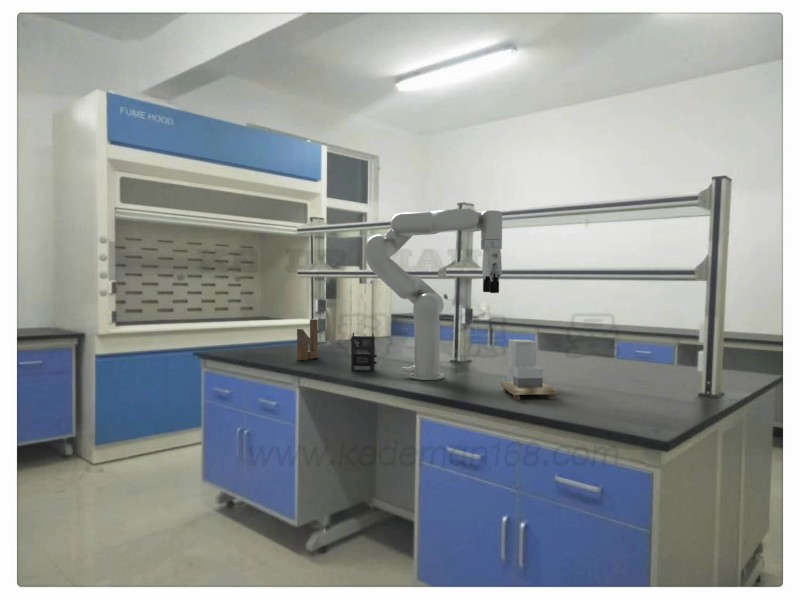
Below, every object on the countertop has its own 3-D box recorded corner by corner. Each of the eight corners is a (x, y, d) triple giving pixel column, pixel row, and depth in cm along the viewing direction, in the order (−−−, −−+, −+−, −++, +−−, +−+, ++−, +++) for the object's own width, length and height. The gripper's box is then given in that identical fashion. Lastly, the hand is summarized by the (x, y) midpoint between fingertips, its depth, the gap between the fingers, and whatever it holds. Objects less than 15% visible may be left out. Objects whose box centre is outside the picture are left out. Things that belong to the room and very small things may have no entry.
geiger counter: (377, 369, 228) (377, 332, 227) (375, 371, 224) (375, 333, 223) (352, 368, 229) (352, 332, 228) (349, 370, 225) (350, 333, 224)
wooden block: (296, 360, 251) (296, 320, 251) (313, 357, 260) (313, 318, 259) (302, 360, 249) (302, 320, 248) (319, 358, 258) (319, 319, 257)
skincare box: (515, 386, 196) (515, 341, 195) (506, 382, 202) (507, 339, 201) (536, 384, 198) (537, 341, 197) (527, 381, 204) (528, 338, 204)
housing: (542, 387, 179) (542, 368, 178) (518, 387, 178) (518, 368, 178) (536, 384, 184) (537, 366, 183) (513, 384, 183) (513, 366, 183)
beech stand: (513, 400, 173) (513, 390, 173) (500, 391, 187) (500, 382, 187) (557, 399, 174) (557, 390, 174) (541, 390, 188) (541, 381, 188)
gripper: (508, 244, 194) (507, 293, 195) (495, 246, 212) (494, 291, 212) (487, 243, 194) (486, 293, 195) (475, 246, 211) (475, 291, 212)
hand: (490, 292), depth 203 cm, fingers open, 9 cm apart
